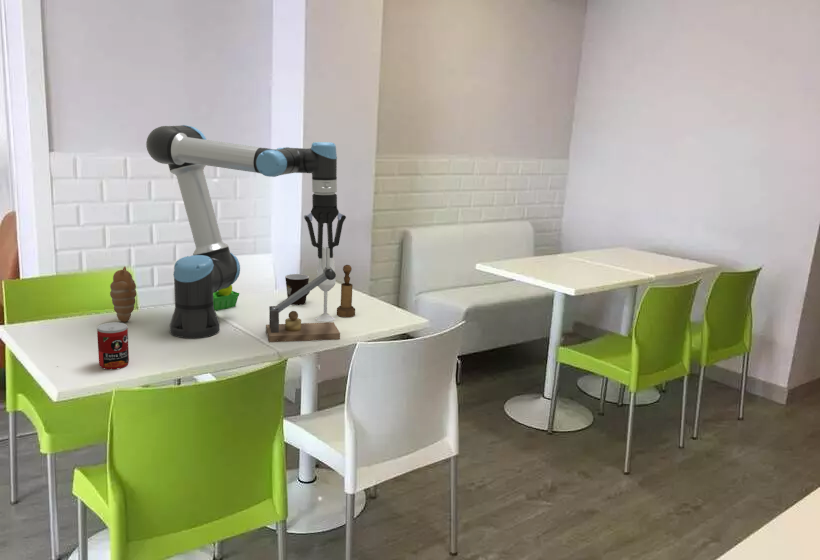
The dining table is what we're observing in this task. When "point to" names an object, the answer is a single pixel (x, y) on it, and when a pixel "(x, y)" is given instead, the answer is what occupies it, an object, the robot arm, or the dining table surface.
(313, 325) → the nutcracker base
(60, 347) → the dining table surface
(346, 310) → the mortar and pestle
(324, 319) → the champagne flute
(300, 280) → the coffee mug
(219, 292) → the fruit basket
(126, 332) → the canned food
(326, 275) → the lever
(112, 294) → the brown ridged tall ovoid
